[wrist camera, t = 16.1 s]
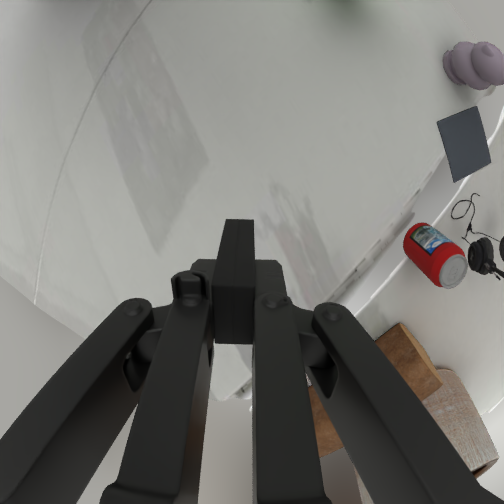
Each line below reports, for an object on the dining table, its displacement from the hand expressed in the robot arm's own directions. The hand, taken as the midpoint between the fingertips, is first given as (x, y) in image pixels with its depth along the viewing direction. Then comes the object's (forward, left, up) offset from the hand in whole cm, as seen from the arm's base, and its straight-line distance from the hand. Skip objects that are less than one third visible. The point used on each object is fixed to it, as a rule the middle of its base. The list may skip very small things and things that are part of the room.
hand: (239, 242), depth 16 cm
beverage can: (+23, +21, -26) cm, 40 cm away
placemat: (+11, +37, -26) cm, 46 cm away
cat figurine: (-2, +41, -26) cm, 48 cm away
